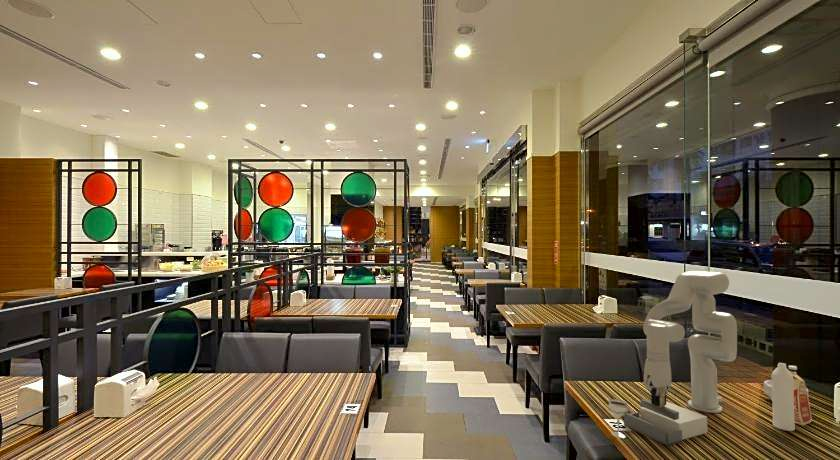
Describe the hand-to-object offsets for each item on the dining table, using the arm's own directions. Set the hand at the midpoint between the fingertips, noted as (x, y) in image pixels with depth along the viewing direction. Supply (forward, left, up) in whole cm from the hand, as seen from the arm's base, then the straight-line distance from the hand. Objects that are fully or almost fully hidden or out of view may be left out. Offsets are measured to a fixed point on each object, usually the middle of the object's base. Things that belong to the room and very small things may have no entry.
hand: (658, 404), depth 158 cm
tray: (+4, 0, -10) cm, 11 cm away
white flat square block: (-8, 0, -10) cm, 13 cm away
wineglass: (+17, -4, -10) cm, 20 cm away
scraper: (0, 0, -3) cm, 3 cm away
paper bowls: (-80, +3, -11) cm, 81 cm away
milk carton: (-62, +14, -11) cm, 64 cm away
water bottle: (-48, +18, -10) cm, 52 cm away
